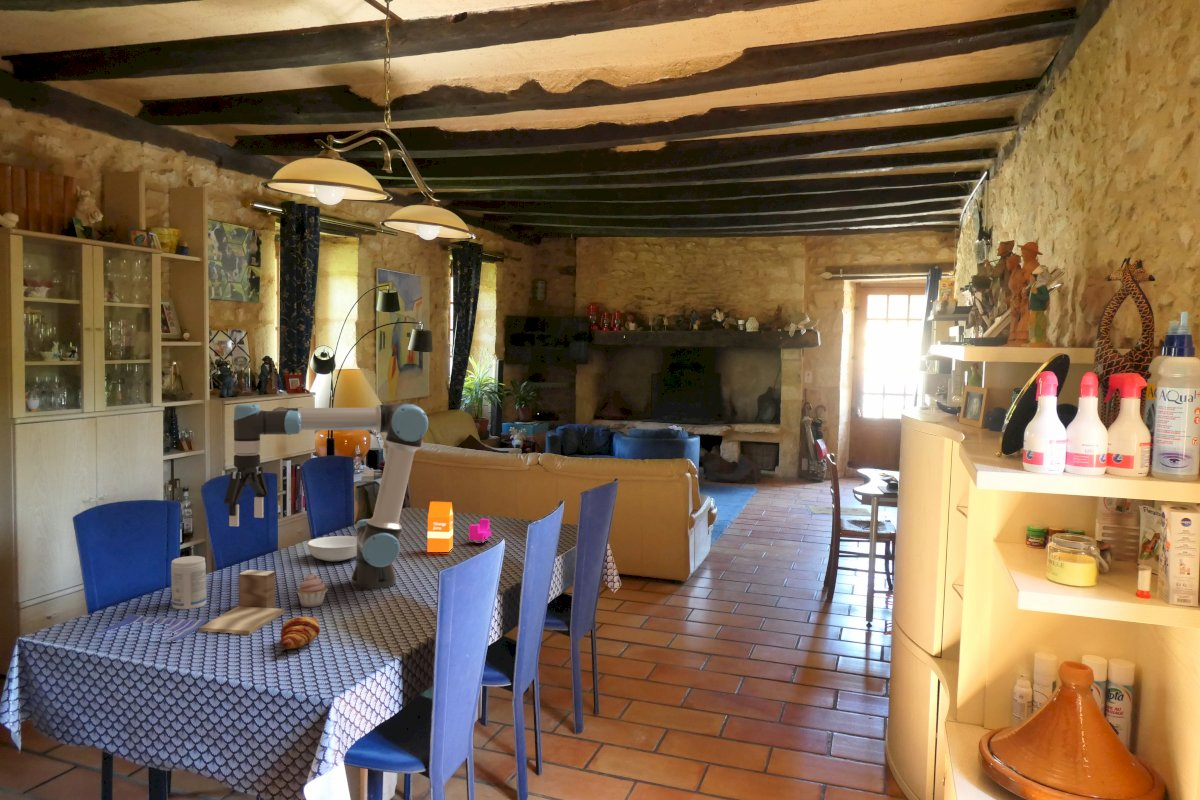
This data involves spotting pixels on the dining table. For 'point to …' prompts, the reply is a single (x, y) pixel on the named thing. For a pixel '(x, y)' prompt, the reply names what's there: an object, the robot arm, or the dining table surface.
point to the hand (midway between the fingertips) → (246, 521)
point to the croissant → (299, 632)
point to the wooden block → (257, 589)
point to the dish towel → (175, 625)
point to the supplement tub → (188, 582)
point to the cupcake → (312, 591)
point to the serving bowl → (333, 548)
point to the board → (242, 620)
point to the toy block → (479, 530)
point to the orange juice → (440, 527)
